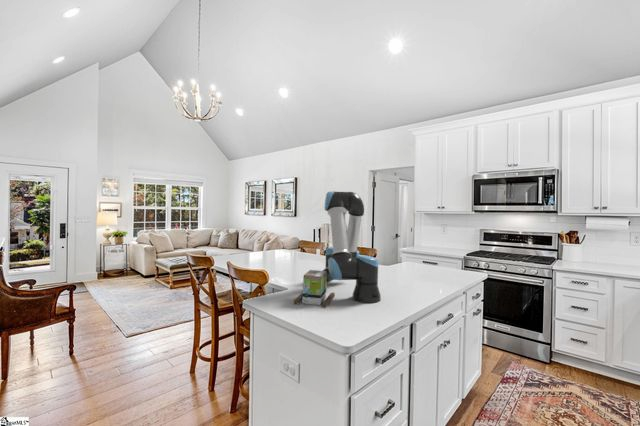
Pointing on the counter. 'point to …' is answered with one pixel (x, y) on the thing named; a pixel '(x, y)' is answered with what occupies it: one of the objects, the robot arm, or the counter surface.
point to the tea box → (314, 287)
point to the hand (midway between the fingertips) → (318, 282)
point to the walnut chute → (323, 302)
